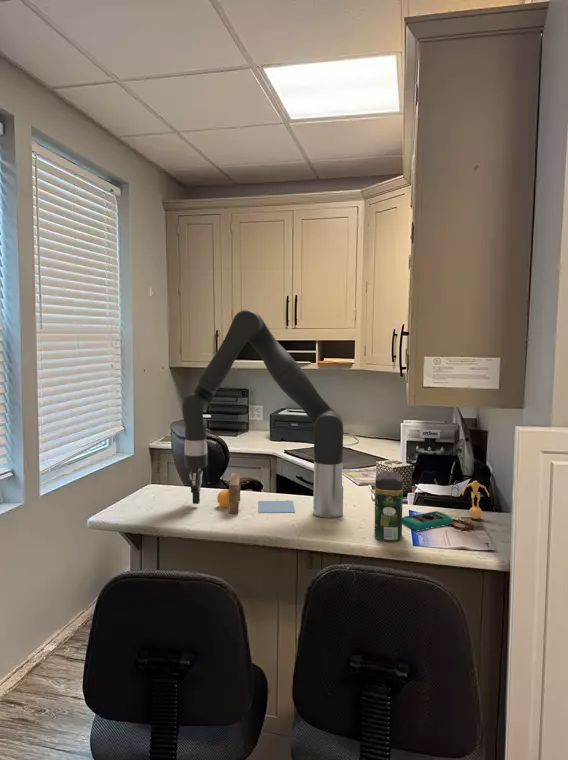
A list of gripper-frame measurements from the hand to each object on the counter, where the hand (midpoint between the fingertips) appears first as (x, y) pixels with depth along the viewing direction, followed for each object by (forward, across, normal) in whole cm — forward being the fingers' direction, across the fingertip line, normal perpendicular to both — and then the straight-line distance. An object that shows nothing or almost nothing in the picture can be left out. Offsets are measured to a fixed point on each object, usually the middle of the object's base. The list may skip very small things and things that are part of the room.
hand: (196, 503), depth 174 cm
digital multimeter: (+2, -17, -73) cm, 75 cm away
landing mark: (+2, 0, -27) cm, 27 cm away
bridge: (+2, 0, -13) cm, 13 cm away
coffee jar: (+2, -27, -58) cm, 64 cm away
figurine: (+2, -12, -90) cm, 91 cm away
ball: (-2, 0, -10) cm, 10 cm away
